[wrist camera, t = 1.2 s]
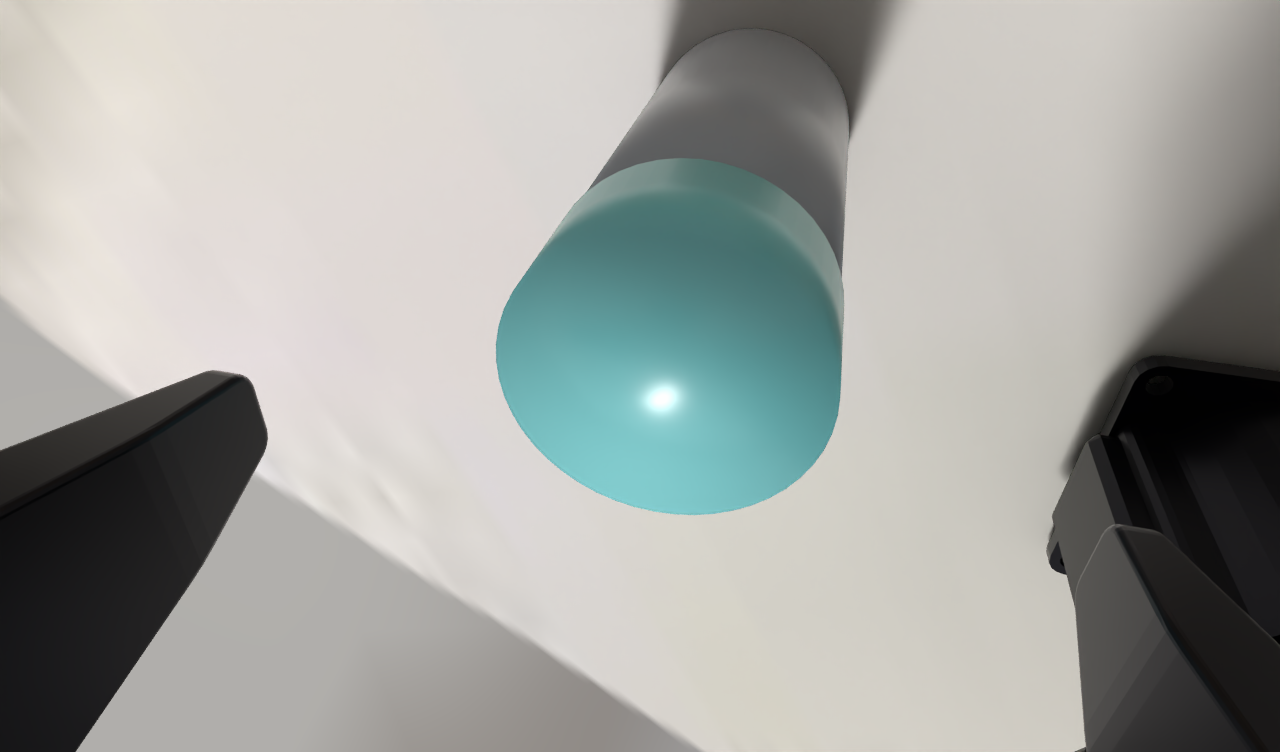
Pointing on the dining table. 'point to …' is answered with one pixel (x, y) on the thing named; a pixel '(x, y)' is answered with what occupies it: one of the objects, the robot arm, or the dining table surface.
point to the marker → (695, 290)
